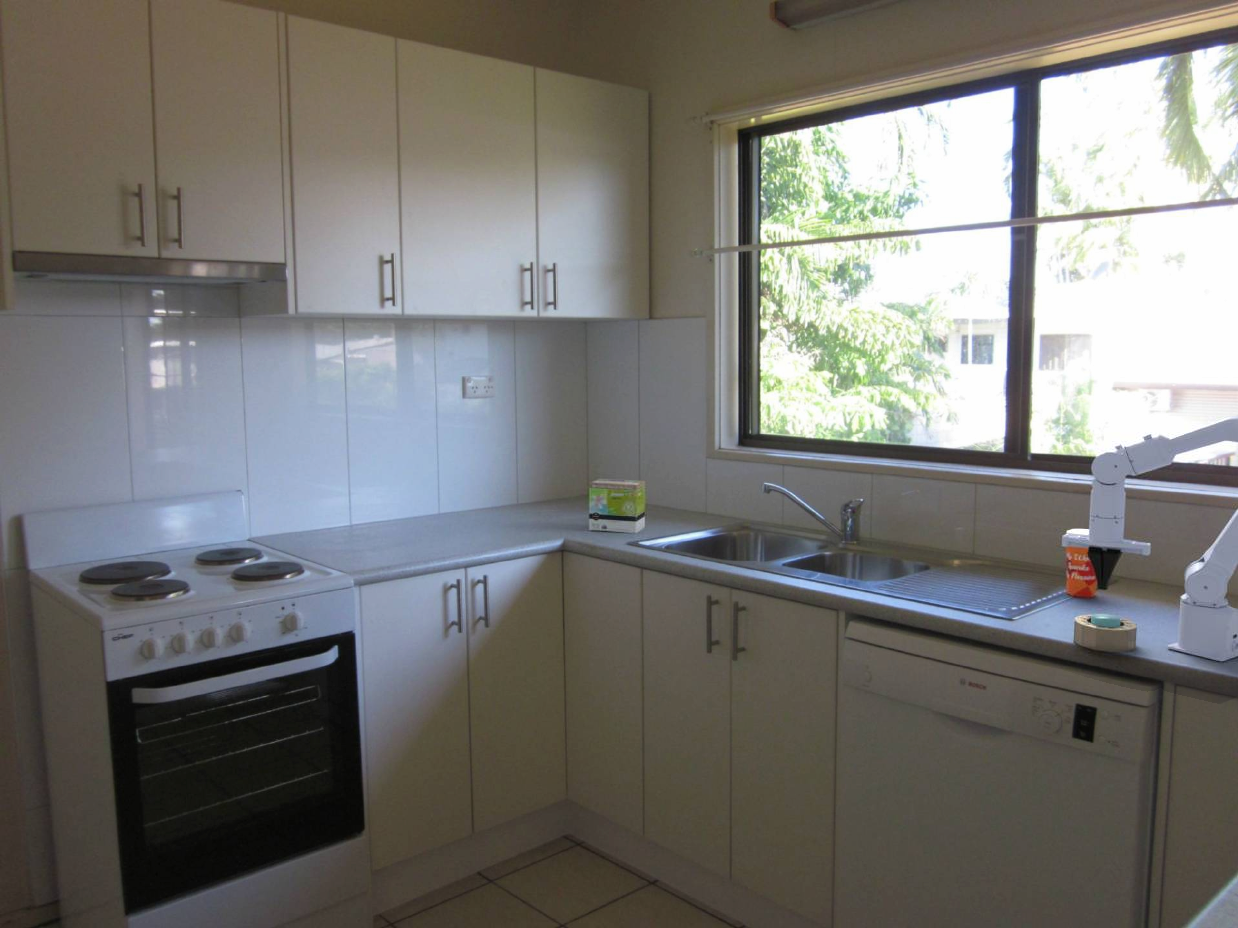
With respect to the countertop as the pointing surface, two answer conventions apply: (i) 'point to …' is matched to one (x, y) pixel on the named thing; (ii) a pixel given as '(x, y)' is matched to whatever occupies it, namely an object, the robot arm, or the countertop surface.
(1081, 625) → the brown faceted tube
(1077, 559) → the paper cup
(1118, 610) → the countertop surface
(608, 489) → the tea box
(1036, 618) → the countertop surface
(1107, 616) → the teal rounded cylinder
